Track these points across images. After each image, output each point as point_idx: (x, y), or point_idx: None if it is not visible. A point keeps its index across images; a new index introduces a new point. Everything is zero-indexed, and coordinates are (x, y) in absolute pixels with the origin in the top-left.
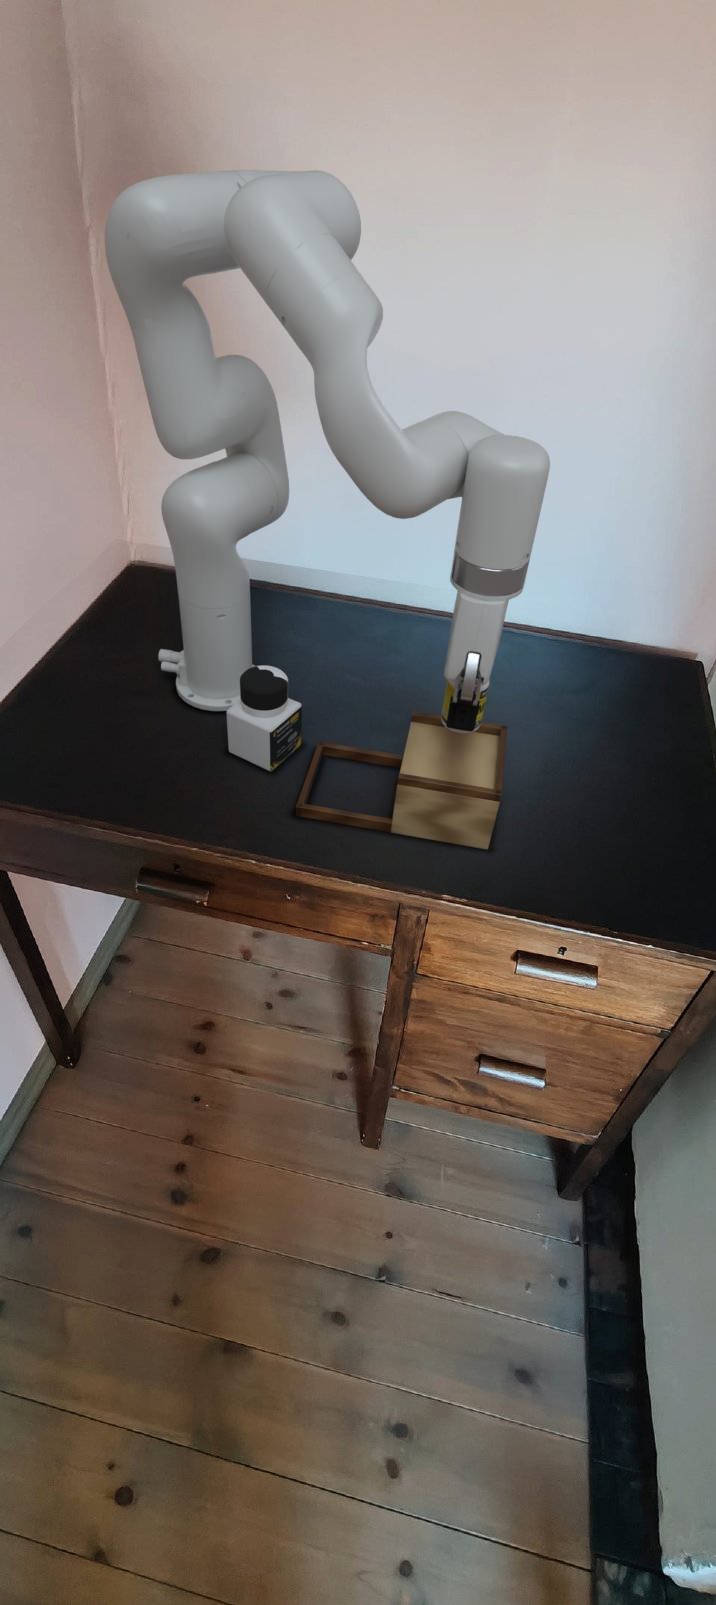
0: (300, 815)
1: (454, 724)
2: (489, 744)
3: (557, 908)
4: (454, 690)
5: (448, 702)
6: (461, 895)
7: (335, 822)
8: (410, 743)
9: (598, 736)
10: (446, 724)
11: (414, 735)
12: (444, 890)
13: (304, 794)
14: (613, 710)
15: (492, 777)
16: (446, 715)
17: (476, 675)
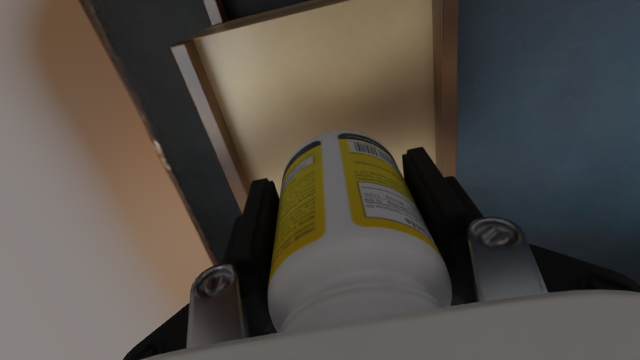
0: None
1: (238, 217)
2: (403, 175)
3: (225, 250)
4: (189, 322)
5: (288, 203)
6: (172, 162)
7: None
8: (338, 15)
9: (549, 233)
10: (251, 183)
11: (374, 13)
12: (165, 141)
13: None
14: (613, 238)
15: None
16: (290, 173)
17: None
